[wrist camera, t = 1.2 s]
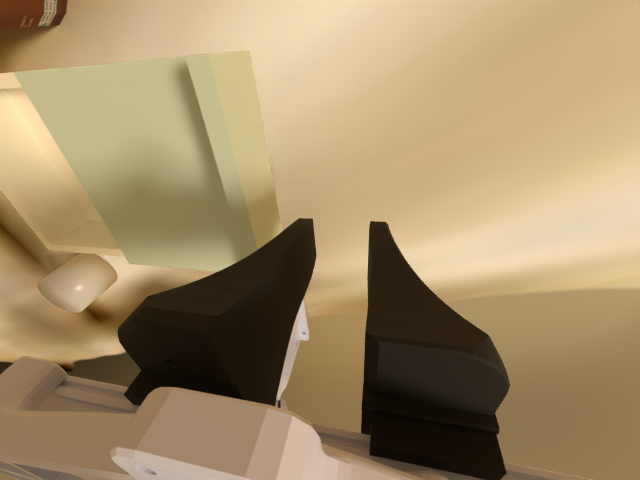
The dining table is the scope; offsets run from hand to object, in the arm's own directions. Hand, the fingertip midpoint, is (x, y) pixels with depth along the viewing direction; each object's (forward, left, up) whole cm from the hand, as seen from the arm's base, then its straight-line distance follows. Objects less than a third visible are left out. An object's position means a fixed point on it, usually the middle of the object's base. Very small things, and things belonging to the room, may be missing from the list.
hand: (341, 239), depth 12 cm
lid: (0, +12, -5) cm, 13 cm away
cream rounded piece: (-14, +33, -10) cm, 37 cm away
